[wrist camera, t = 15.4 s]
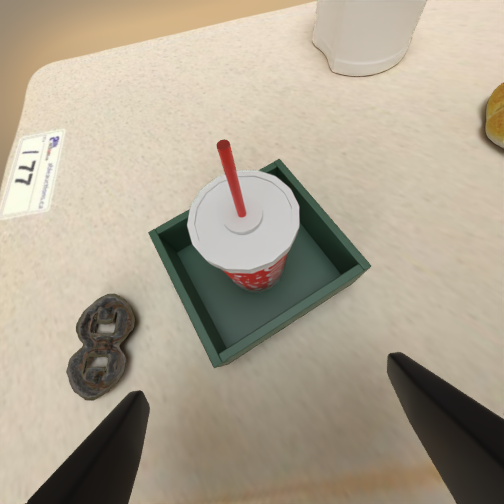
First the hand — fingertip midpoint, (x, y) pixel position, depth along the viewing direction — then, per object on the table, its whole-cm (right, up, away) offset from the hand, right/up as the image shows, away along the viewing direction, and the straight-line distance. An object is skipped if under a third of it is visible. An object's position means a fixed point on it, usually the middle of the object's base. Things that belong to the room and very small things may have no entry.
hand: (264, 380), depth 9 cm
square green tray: (0, +3, +13) cm, 14 cm away
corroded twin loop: (-12, -3, +12) cm, 18 cm away
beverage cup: (0, +3, +13) cm, 13 cm away
